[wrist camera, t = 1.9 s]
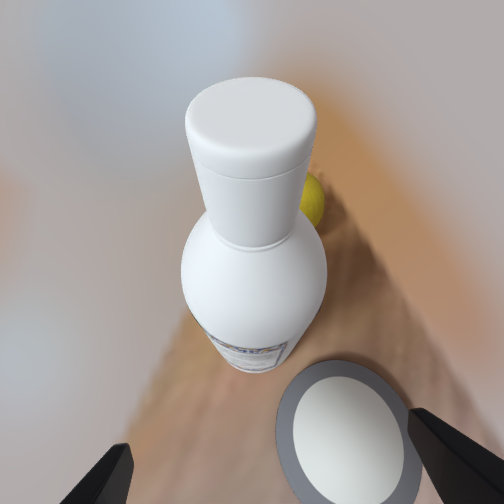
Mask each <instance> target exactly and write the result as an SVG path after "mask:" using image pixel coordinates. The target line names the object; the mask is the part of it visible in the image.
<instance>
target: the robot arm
mask: <svg viewBox="0 0 504 504" xmlns="http://www.w3.org/2000/svg"><path fill="white" fill-rule="evenodd" d="M407 432H408V435H409V437H410V439H411V441H412V443H413V445H414V447H415V449H416V451H417V453H418V455H419V457H420V459H421V461H422V463H423V465H424V467H425V469H426V471H427V473H428V475H429V477H430V479H431V481H432V483H433V485H434V487H435V489H436V491H437V493H438V494H439V496H440V498H441V500H442V501H443V503H444V504H504V460H502V459H501V458H499V457H498V456H496V455H495V454H493V453H492V452H490V451H489V450H487V449H486V448H484V447H482V446H481V445H479V444H478V443H476V442H475V441H473V440H472V439H470V438H469V437H467V436H466V435H464V434H463V433H461V432H459V431H458V430H456V429H455V428H453V427H452V426H450V425H449V424H447V423H446V422H444V421H443V420H441V419H440V418H438V417H436V416H435V415H433V414H432V413H430V412H429V411H427V410H426V409H424V408H413V409H410V410H409V412H408V422H407ZM133 469H134V461H133V457H132V454H131V450H130V446H129V444H128V443H120V444H115V445H113V446H112V447H111V448H110V449H109V450H108V451H107V452H106V454H105V455H104V456H103V457H102V458H101V459H100V460H99V461H98V462H97V463H96V464H95V466H94V467H93V468H92V469H91V470H90V471H89V472H88V473H87V474H86V476H84V478H83V479H82V480H81V481H80V482H79V483H78V484H77V485H76V486H75V487H74V488H73V489H72V491H71V492H70V493H69V494H68V495H67V496H66V497H65V499H63V500H62V502H61V503H60V504H126V500H127V496H128V491H129V487H130V483H131V479H132V474H133Z"/></svg>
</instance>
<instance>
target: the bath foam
mask: <svg viewBox="0 0 504 504" xmlns="http://www.w3.org/2000/svg"><path fill="white" fill-rule="evenodd" d="M185 126H186V134H187V138H188V142H189V146H190V149H191V153H192V157H193V161H194V165H195V169H196V172H197V176H198V180H199V184H200V187H201V192H202V195H203V199H204V203H205V206H206V210H207V211H206V212H205V213H204V214H203V215H202V216H201V218H200V219H199V220H198V222H197V223H196V225H195V226H194V228H193V230H192V232H191V233H190V235H189V237H188V240H187V242H186V245H185V248H184V252H183V257H182V263H181V280H182V287H183V292H184V296H185V299H186V302H187V305H188V307H189V309H190V311H191V313H192V315H193V316H194V318H195V319H196V321H197V322H198V324H199V325H200V326H201V328H202V329H203V330H204V332H205V333H206V334H207V336H208V337H209V339H210V340H211V341H212V343H213V344H214V345H215V347H216V348H217V349H218V351H219V352H220V353H221V355H222V356H223V357H224V358H225V359H226V361H227V362H228V363H229V364H231V365H232V366H233V367H235V368H237V369H239V370H241V371H244V372H248V373H263V372H267V371H270V370H272V369H274V368H276V367H277V366H279V365H280V364H281V363H282V362H283V361H284V360H285V359H286V358H287V357H288V356H289V354H290V353H291V351H292V350H293V348H294V347H295V345H296V344H297V342H298V341H299V340H300V338H301V337H302V335H303V334H304V332H305V331H306V329H307V328H308V326H309V325H310V323H311V322H312V321H313V319H314V318H315V316H316V315H317V313H318V312H319V310H320V308H321V304H322V301H323V297H324V294H325V289H326V283H327V261H326V256H325V251H324V248H323V244H322V242H321V240H320V237H319V235H318V233H317V231H316V230H315V228H314V226H313V225H312V223H311V222H310V221H309V219H308V218H307V217H306V216H305V214H304V213H303V212H302V211H301V210H300V209H299V206H300V202H301V198H302V193H303V189H304V184H305V180H306V175H307V171H308V166H309V162H310V157H311V152H312V148H313V143H314V139H315V134H316V128H317V114H316V110H315V107H314V105H313V103H312V102H311V100H310V99H309V97H308V96H307V95H306V94H305V93H304V92H302V91H301V90H300V89H298V88H296V87H295V86H293V85H290V84H288V83H285V82H282V81H279V80H275V79H270V78H262V77H244V78H235V79H230V80H226V81H223V82H219V83H217V84H214V85H212V86H210V87H208V88H206V89H205V90H204V91H202V92H200V93H199V94H198V95H197V96H196V97H195V98H194V99H193V100H192V102H191V103H190V105H189V107H188V109H187V112H186V117H185Z"/></svg>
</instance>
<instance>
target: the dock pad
mask: <svg viewBox="0 0 504 504" xmlns="http://www.w3.org/2000/svg"><path fill="white" fill-rule="evenodd" d="M408 412H409V411H408V409H407V408H406V406H405V404H404V403H403V401H402V400H401V398H400V397H399V396H398V394H397V393H396V392H395V391H394V389H393V388H392V387H391V386H390V385H389V384H388V383H387V382H386V381H385V380H383V379H382V378H381V377H380V376H378V375H377V374H376V373H374V372H373V371H371V370H369V369H367V368H366V367H363V366H361V365H359V364H356V363H352V362H349V361H342V360H329V361H323V362H320V363H316V364H314V365H312V366H310V367H308V368H307V369H305V370H303V371H302V372H301V373H299V374H298V375H297V376H296V377H295V378H294V379H293V380H292V382H291V383H290V384H289V386H288V387H287V389H286V390H285V392H284V394H283V396H282V399H281V401H280V404H279V408H278V412H277V417H276V444H277V451H278V455H279V459H280V463H281V465H282V468H283V471H284V474H285V476H286V478H287V480H288V482H289V484H290V486H291V488H292V490H293V491H294V493H295V495H296V496H297V498H298V499H299V500H300V502H301V503H302V504H413V503H414V501H415V499H416V496H417V493H418V490H419V486H420V481H421V474H422V461H421V459H420V457H419V455H418V453H417V451H416V449H415V447H414V445H413V443H412V441H411V439H410V437H409V435H408V432H407V422H408Z"/></svg>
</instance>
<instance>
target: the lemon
mask: <svg viewBox="0 0 504 504" xmlns="http://www.w3.org/2000/svg"><path fill="white" fill-rule="evenodd" d="M324 203H325V196H324V191H323V188H322V185H321V184H320V182H319V181H318V180H317V179H316V178H315V177H314V176H313V175H311V174H310V173H308V172H307V175H306V180H305V184H304V189H303V193H302V198H301V202H300V206H299V209H300V210H301V211H302V212H303V213H304V214H305V216H306V217H307V218H308V219H309V221H310V222H311V223H312V225H313V226H314V228H316V226H317V225H318V224H319V222H320V220H321V217H322V215H323V212H324Z"/></svg>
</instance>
